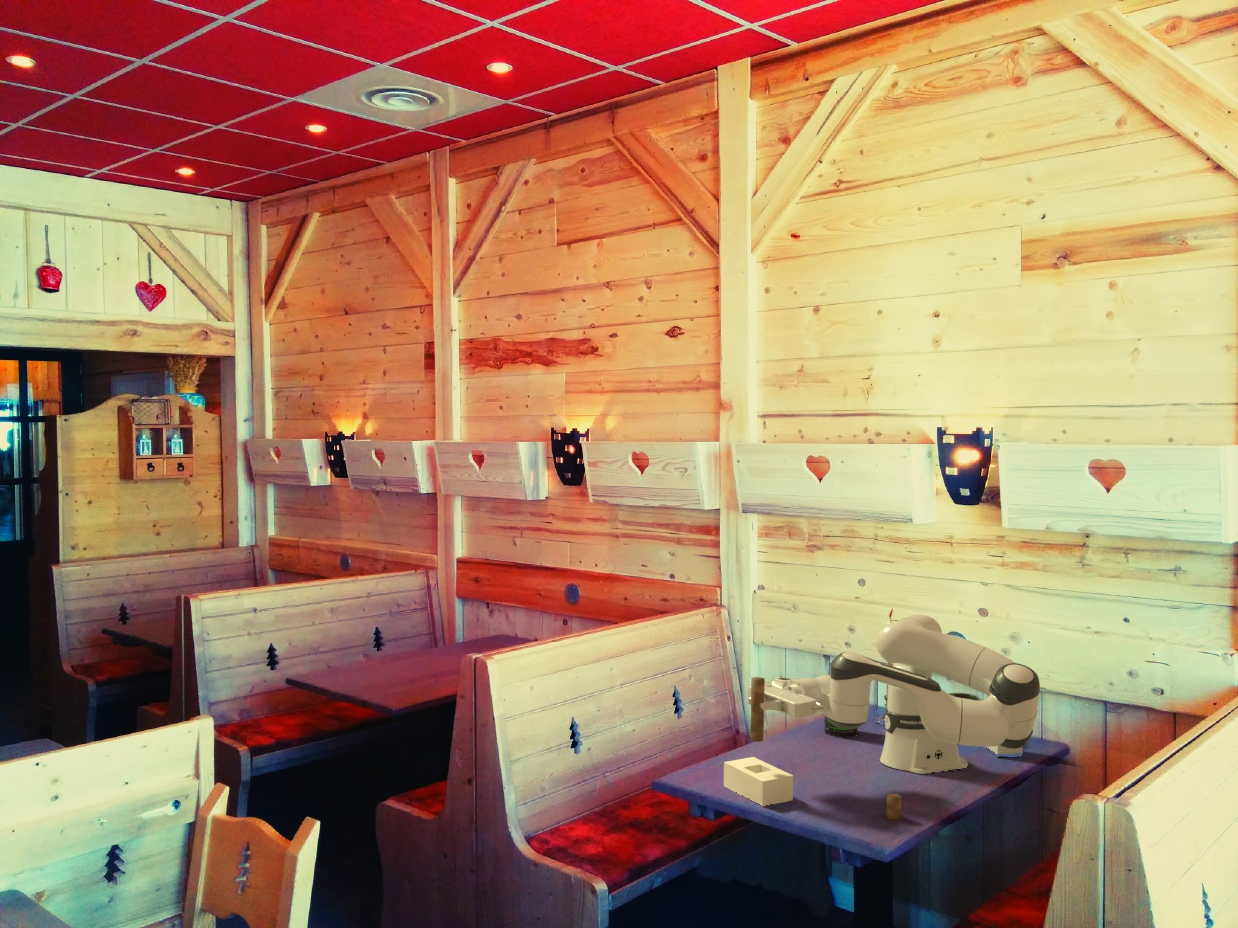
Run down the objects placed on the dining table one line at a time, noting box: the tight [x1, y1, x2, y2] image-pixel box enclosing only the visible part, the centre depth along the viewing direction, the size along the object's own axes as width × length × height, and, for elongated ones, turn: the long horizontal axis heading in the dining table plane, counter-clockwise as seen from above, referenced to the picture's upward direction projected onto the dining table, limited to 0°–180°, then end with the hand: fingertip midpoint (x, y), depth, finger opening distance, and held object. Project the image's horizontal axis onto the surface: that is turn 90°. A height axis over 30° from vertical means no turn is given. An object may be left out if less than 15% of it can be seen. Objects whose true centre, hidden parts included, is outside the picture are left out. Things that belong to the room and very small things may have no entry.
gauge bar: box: [723, 756, 794, 807], centre depth 253 cm, size 9×16×6 cm, turn 29°
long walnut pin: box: [749, 676, 766, 743], centre depth 252 cm, size 3×3×15 cm
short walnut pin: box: [886, 793, 902, 821], centre depth 238 cm, size 3×3×5 cm
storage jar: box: [823, 717, 859, 738], centre depth 304 cm, size 10×10×15 cm
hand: (755, 703), depth 252 cm, fingers closed on long walnut pin, 3 cm apart
